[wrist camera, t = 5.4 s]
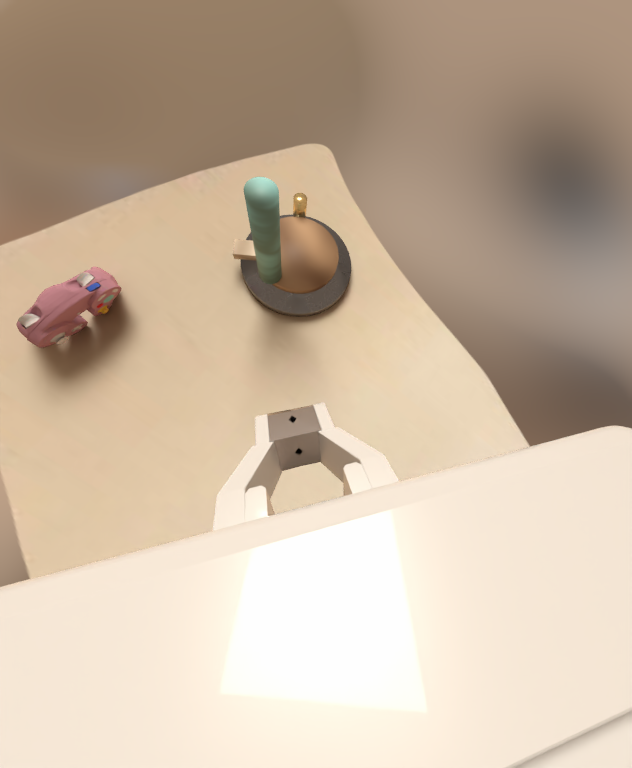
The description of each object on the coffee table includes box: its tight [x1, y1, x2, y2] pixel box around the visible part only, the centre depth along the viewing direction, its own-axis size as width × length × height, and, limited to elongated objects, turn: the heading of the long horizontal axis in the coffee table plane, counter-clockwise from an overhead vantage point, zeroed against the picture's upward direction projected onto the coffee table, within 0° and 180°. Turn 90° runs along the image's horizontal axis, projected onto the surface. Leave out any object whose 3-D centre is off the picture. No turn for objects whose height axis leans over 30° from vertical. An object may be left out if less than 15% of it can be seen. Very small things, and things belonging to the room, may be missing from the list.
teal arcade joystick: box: [233, 177, 339, 294], centre depth 25 cm, size 11×11×11 cm
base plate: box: [241, 215, 351, 317], centre depth 31 cm, size 14×14×2 cm
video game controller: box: [17, 267, 121, 348], centre depth 25 cm, size 10×5×7 cm, turn 139°
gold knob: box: [293, 193, 307, 218], centre depth 30 cm, size 2×2×3 cm
